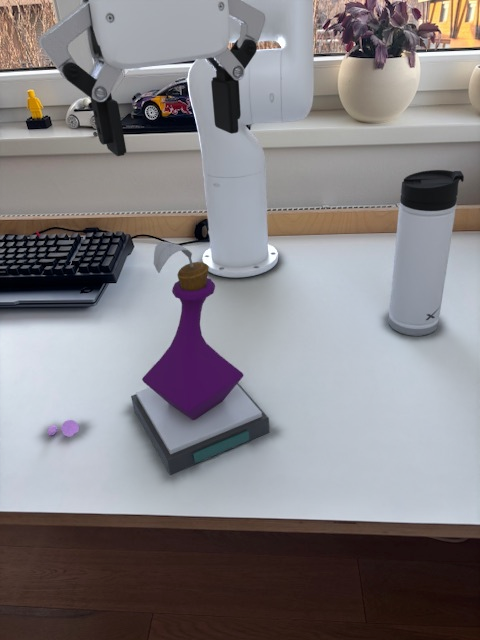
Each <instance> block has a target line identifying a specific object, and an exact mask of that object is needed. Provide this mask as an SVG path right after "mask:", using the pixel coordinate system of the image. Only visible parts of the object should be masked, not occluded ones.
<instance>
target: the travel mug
mask: <svg viewBox="0 0 480 640" xmlns="http://www.w3.org/2000/svg"><path fill="white" fill-rule="evenodd" d="M464 178H465V177H464V174H463V172H462V170H454V171H453V170H446V169H430V170H423V171H418V172H415V173H412V174H409V175H407V176H405V177H404V178H403V181H402V182H401V189H400V199H399V206H398V213H397V214H398V215H397V224H396V235H395V246H394V258H393V266H392V277H391V278H392V279H391V287H390V288H391V289H390V299H389V309H388V310H389V311H388V319H387V321H388V324H389V326H390V328H392V330H394V331H395V332H398V333H400V334H402V335H407V336H411V337H418V336H419V337H420V336H427V335H430V334H432V333H434V332H435V331H436V330H437V329H438V327H439V322H440V315H441V310H442V309H441V308H442V301H443V295H444V289H445V282H446V276H447V270H448V262H449V255H450V249H451V243H452V237H453V230H454V224H455V216H456V208H457V204H458V203H457V201H458V200H457V199H458V193H459V183H460V181H461V183H463V182H464V181H465V180H464Z"/></svg>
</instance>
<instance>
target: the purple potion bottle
mask: <svg viewBox="0 0 480 640" xmlns="http://www.w3.org/2000/svg"><path fill="white" fill-rule="evenodd" d="M180 251H181V252H182V253H183V254H184V256H186V257H187V258H188V260H189V263H187V264H184V265H183V266H182V267H181V268H179V270H178V272H177V273H176V274H177V279H178V281H176V282H174V284H173V286H172V289H171V292H172V295H173V296H174V298H176V299H178V300H179V301H180V303H181V312H180V317H179V322H178V326H177V329H176V332H175V335H174V336H173V339H172V341H171V343H170V345H169V346H168V348H167V349H166V351H165V352H164V353H163V354H162V356H161V357H160V358H159V359H158V361H156V363H155V364H154V365H153V366H152V367H151V368H150V369H149V370H148V372H146V373H145V374H144V376H143V377H142V379H141V381H142V382H143V383H144V384H145V385H146V386H147V387H148V388H151V389H152V390H154V391H155V392H156V393H157V394H158V395H160V396H161V397H162V398H163V399H164V400H165V401H167V402H168V403H169V404H170V405H172V406H173V407H175V408H176V409H178V410H179V411H180V412H182V413H183V414H185V415H186V416H187V417H189V418H190V419H192V420H195V419H197V418H198V417H200V416H201V415H203V414H204V413H206V412H207V411H209V410H210V409H212V408H213V407H215V406H216V405H218V404H219V403H221V402H222V401H223V400H224V399H225V398H226V397H227V395H228V394H229V393H230V392H231V391H232V389H233V388H234V387H235V386H236V385H237V383H238V384H239V383H240V382H241V380H242V379H243V378H244V373H243V372H242V371H241V370H240V369H238V367H235V365H233V364H232V363H231V362H230V361H228V360H227V359H226V358H224V356H222V355H221V354H220V353H218V352H217V351H216V350H215V349H214V348H213V347H212V346H210V345H209V344H208V343H207V342H206V340H205V339H204V337H203V334H202V327H201V319H202V318H201V316H202V310H203V305H204V303H205V302H206V300H207V298H209V297H210V296H212V295H213V294H215V293H214V292H215V290H216V283H215V282H214V281H213V280H212V279H211V278H208V275H209V271H208V269H209V266H208V265H207V264H205V263H203V261H194V262H193V260H192V255H193V253H192V251H190V250H189V249H188V248H185V247H184V246H182V245H180V244H177V243H173V242H172V243H171V242H168V241H161V242H160V241H159V242H158V243H157V245H155V247H154V252H153V265H154V268H155V270H156V272H157V273H158V274H160V273H161V272H162V269H163V267H164V266H165V264H167V261H168V260H169V259H170V258H171V257H172V256H173V255H175V254H176V253H178V252H180Z"/></svg>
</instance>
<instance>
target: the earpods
mask: <svg viewBox="0 0 480 640" xmlns="http://www.w3.org/2000/svg"><path fill="white" fill-rule="evenodd" d="M60 428H61V432H62V434H63V435H64V436H66V437H68V438H71V437H73V436H74V435H75V434H77V433H78V432H79V431H80V427H79V424H78V422H76V421H75V420H74V419H68V420H65V421H64V422H63V423H61V427H60ZM57 432H58V426H56V425H50V426H49V428H48V429H47V435H49V436H54V435H56V433H57Z"/></svg>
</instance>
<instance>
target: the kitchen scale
mask: <svg viewBox="0 0 480 640" xmlns="http://www.w3.org/2000/svg"><path fill="white" fill-rule="evenodd" d="M130 398H131V403H132V407H133V408H132V409H133V411H134V412H135V414H136V416H137V418H138V420H139V422H140V423H141V425H142V428H143V429H144V430H145V432H146V434H147V435H148V437H149V439H150V441H151V443H152V445H153V447H154V448H155V450H156V451H157V453H158V456H159V458H160V459H161V461H162V462H163V465H164V466H165V469H166V470H167V471H168V473H169V475H173V474H176V473H178V472H180V471H182V470H185V469H188V468H189V467H193V466H194V465H197V464H199V463H201V462H204V461H206V460H208V459H211V458H213V457H215V456H217V455H220V454H222V453H225V452H227V451H229V450H232V449H234V448H237V447H238V446H241V445H243V444H246V443H248V442H250V441H252V440H255V439H257V438H259V437H262V436H264V435H266V434H269V433H270V419H269V416H267V414H266V413H265V412H264V410H263V409H262V408H260V406H259V405H258V404H257V403H256V402H255V401H254V400H253V398H252V397H251V396H250V395H249V394H248V392H247V391H246V390H245V389H244V388H243V386H241V385H240V384H239V382H238V383H237V385H236V386H235V387H234V388H233V389H232V391H231V392H230V393H229V394H228V395H227V397H226V398H225V399H224V400H223V401H222V402H221V403H219V404H218V405H216V406H215V407H213V408H212V409H210V410H209V411H207V412H206V413H204V414H203V415H201V416H200V417H198V418H197V419H195V420H192V419H190V418H189V417H187V416H186V415H185V414H183V413H182V412H180V411H179V410H178V409H176V408H175V407H173V406H172V405H170V404H169V403H168V402H167V401H165V400H164V399H163V398H162V397H161V396H160V395H158V394H157V393H156V392H155V391H154V390H152V389H151V388H150V387H147V388H144V389H142V390H139V391H136V392H135V394H132V395H130Z"/></svg>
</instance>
